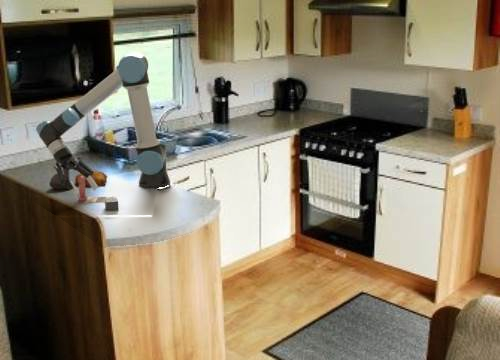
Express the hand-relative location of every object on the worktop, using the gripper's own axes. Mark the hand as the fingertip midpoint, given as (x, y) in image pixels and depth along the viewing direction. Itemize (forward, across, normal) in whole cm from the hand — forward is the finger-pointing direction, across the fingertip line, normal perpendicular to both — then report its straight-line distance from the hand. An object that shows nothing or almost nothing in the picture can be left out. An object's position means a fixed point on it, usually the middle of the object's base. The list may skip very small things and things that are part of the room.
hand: (87, 191), depth 272 cm
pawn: (+1, 0, -5) cm, 5 cm away
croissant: (-10, -22, -18) cm, 31 cm away
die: (+15, +2, +8) cm, 17 cm away
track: (+5, -4, -2) cm, 7 cm away
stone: (-15, -8, -22) cm, 28 cm away
